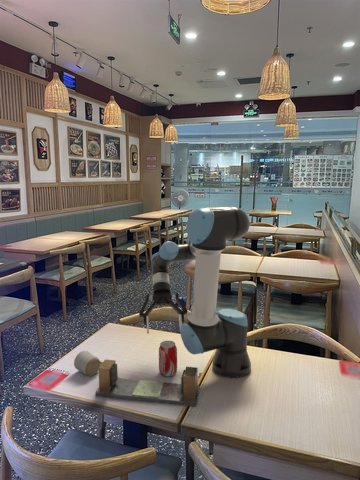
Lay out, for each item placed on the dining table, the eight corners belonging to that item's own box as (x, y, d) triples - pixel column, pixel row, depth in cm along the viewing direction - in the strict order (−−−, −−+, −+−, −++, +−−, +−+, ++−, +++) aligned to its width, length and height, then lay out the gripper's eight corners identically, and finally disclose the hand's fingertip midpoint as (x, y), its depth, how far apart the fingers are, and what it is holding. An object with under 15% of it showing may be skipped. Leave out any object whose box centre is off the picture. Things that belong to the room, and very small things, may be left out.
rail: (199, 389, 125) (199, 364, 123) (195, 407, 115) (195, 380, 114) (106, 380, 131) (105, 356, 130) (95, 396, 122) (94, 370, 120)
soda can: (177, 377, 133) (176, 348, 131) (158, 377, 133) (157, 348, 131) (177, 368, 139) (177, 339, 138) (159, 368, 140) (159, 339, 138)
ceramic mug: (86, 380, 132) (86, 360, 131) (73, 372, 137) (73, 354, 136) (108, 368, 140) (108, 350, 139) (96, 362, 145) (95, 344, 144)
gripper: (188, 287, 159) (194, 332, 147) (133, 290, 156) (134, 336, 144) (190, 279, 153) (196, 325, 141) (132, 282, 150) (133, 329, 138)
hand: (164, 331), depth 142 cm, fingers open, 13 cm apart
